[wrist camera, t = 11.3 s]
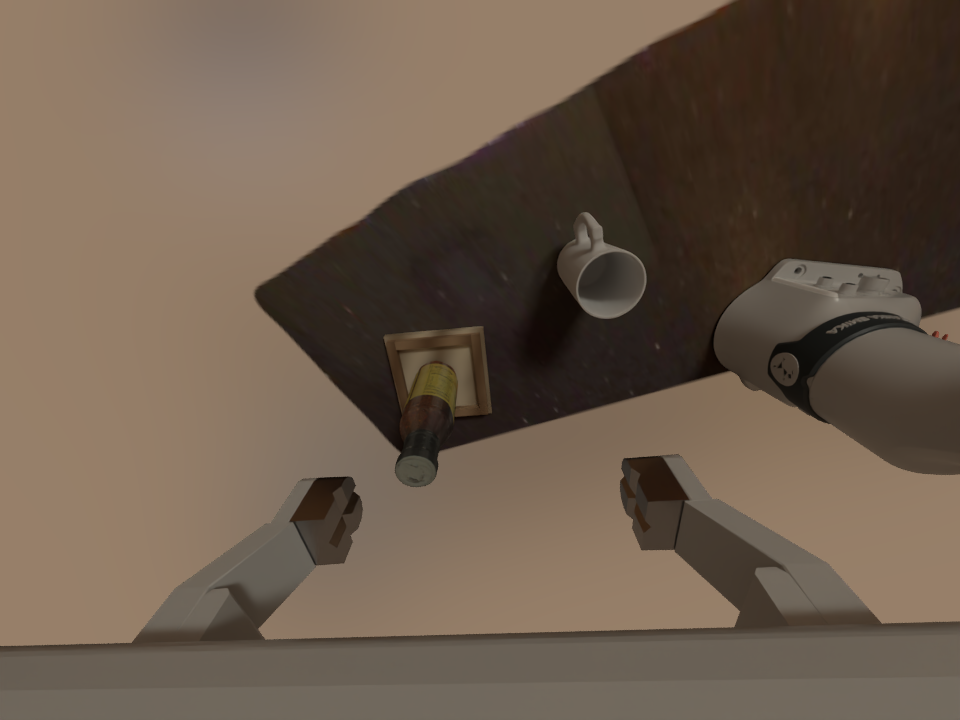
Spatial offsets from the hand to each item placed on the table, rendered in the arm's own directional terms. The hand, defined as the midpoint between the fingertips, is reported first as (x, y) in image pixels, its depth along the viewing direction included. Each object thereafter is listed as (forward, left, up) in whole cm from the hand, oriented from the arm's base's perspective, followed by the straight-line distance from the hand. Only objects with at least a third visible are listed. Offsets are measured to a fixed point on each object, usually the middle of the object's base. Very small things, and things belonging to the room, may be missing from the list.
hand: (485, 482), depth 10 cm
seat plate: (+8, +16, -38) cm, 42 cm away
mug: (-12, 0, -38) cm, 40 cm away
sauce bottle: (+9, +16, -37) cm, 41 cm away
